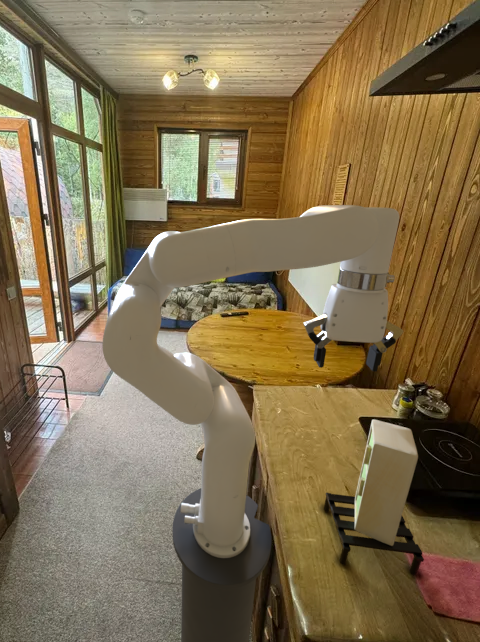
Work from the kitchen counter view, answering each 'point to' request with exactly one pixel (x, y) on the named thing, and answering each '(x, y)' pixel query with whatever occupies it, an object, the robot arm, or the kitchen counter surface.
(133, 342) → the robot arm
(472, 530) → the kitchen counter surface
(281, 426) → the kitchen counter surface
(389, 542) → the toy refrigerator
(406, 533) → the rack
